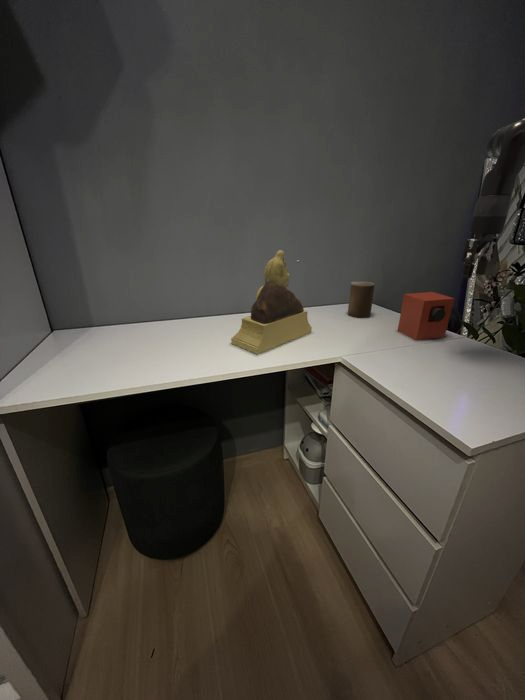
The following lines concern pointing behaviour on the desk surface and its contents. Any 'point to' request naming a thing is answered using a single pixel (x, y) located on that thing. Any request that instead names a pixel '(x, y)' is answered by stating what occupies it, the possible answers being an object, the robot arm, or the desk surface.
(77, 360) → the desk surface
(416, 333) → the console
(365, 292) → the pillar candle
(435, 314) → the button
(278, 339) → the yellow and brown statue
